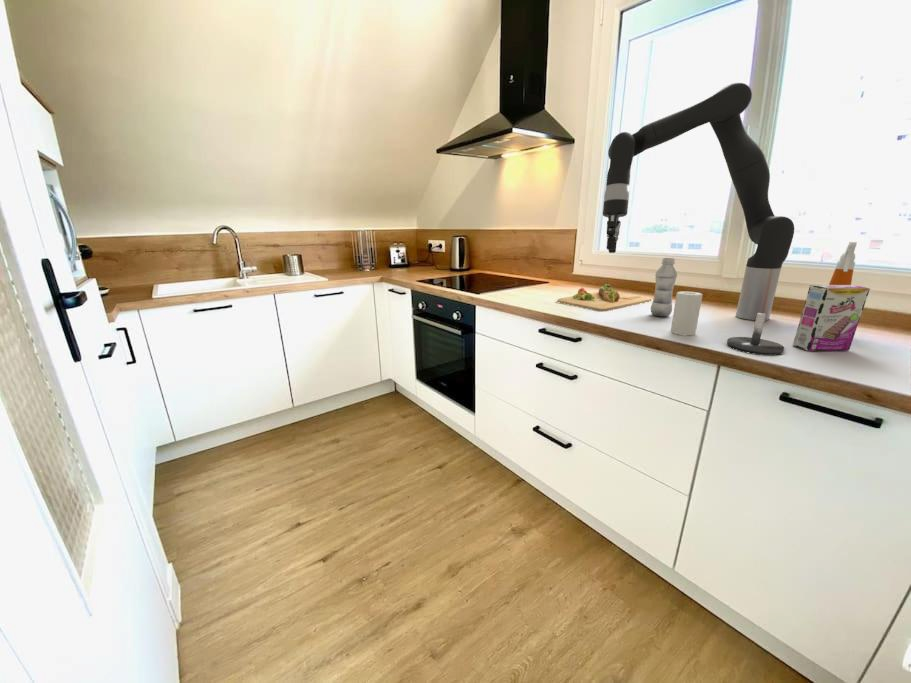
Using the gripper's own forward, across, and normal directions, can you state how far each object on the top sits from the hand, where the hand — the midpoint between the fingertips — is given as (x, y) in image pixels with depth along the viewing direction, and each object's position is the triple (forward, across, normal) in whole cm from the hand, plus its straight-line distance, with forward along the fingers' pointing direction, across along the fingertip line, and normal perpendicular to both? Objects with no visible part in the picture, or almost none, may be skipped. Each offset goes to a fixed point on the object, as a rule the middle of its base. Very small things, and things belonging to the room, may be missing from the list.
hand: (611, 251), depth 127 cm
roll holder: (+27, -15, -39) cm, 49 cm away
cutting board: (+18, +34, +4) cm, 38 cm away
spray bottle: (+23, +8, -60) cm, 65 cm away
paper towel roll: (+25, -6, -23) cm, 34 cm away
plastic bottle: (+21, +14, -17) cm, 31 cm away
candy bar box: (+26, -9, -54) cm, 61 cm away
